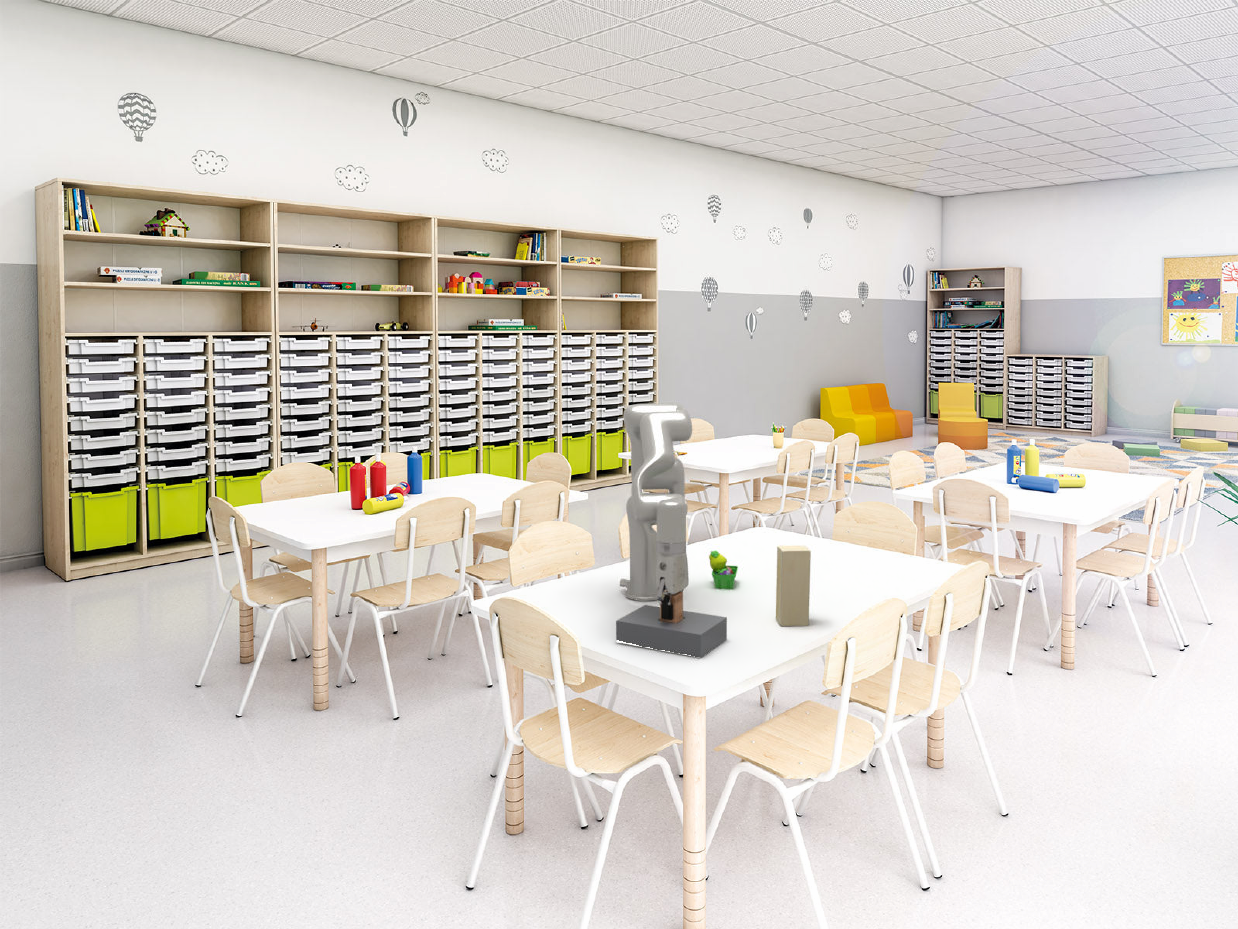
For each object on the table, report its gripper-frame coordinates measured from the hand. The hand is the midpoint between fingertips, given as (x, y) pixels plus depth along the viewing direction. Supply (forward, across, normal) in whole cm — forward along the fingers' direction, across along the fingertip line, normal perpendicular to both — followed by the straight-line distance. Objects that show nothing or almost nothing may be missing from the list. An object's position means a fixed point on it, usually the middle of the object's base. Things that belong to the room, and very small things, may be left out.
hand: (671, 615), depth 238 cm
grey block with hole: (+7, 0, 0) cm, 7 cm away
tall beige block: (+7, +30, -22) cm, 38 cm away
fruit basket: (+7, +56, +10) cm, 57 cm away
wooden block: (+7, 0, 0) cm, 7 cm away
